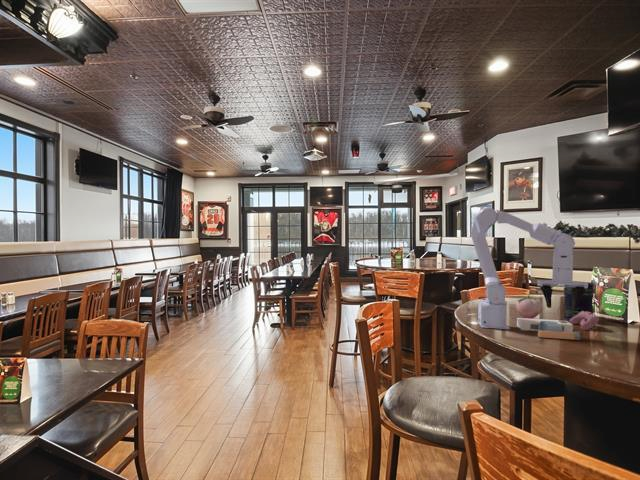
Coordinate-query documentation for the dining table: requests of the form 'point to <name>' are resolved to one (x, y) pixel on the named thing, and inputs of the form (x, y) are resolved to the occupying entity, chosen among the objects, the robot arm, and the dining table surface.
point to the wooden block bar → (559, 335)
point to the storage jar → (583, 304)
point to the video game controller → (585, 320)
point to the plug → (550, 326)
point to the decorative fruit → (528, 307)
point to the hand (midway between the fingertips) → (561, 308)
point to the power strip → (535, 324)
